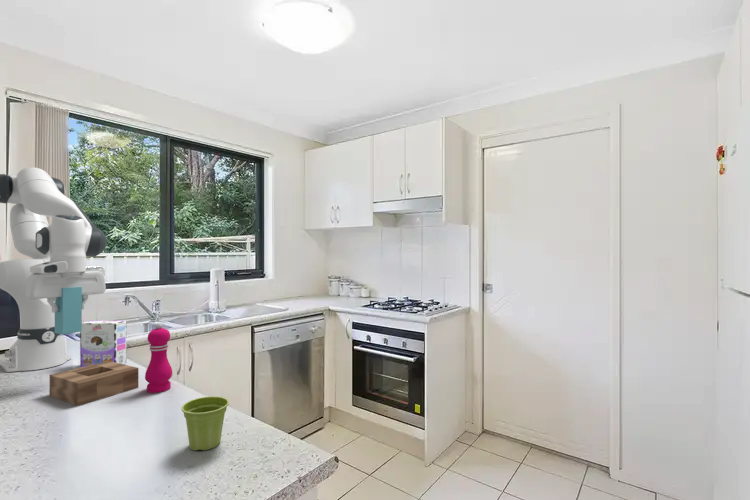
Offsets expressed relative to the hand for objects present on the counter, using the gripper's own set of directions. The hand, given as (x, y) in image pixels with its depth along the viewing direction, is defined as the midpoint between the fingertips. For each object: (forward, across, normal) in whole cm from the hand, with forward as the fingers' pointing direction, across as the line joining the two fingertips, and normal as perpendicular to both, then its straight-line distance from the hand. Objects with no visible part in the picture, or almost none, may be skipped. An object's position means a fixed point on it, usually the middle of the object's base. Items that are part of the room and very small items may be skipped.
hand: (68, 310), depth 120 cm
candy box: (+23, -16, -11) cm, 31 cm away
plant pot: (+23, +5, +70) cm, 74 cm away
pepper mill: (+23, -11, +29) cm, 38 cm away
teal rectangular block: (+7, 0, 0) cm, 7 cm away
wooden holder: (+23, -1, +14) cm, 27 cm away
